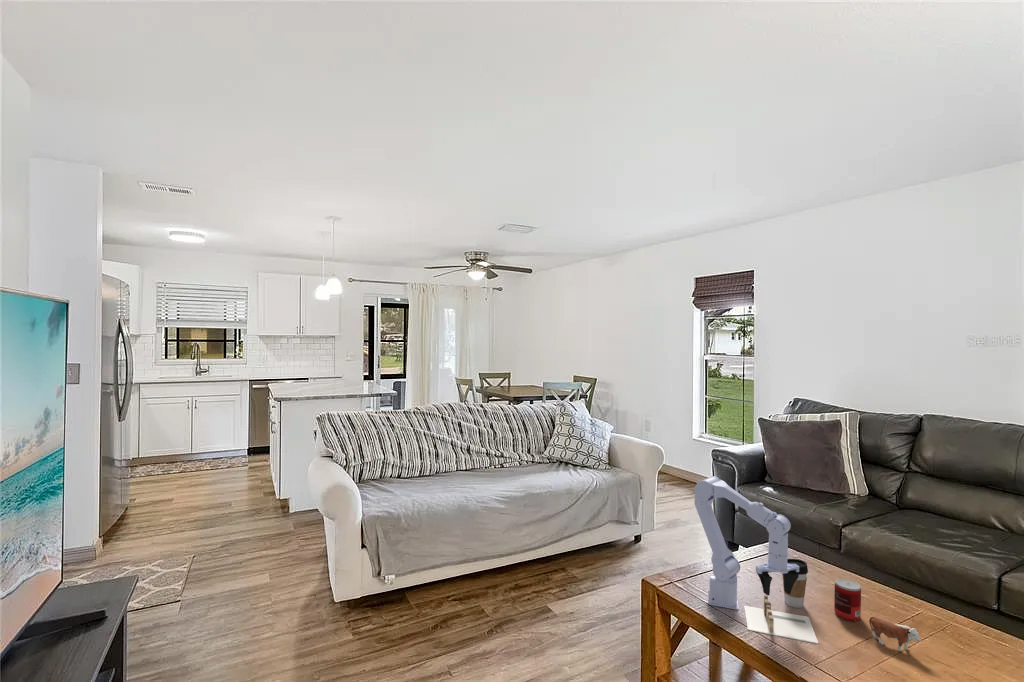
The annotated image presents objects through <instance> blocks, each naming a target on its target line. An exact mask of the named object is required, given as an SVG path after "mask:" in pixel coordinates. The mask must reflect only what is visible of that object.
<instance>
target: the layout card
mask: <svg viewBox="0 0 1024 682" xmlns="http://www.w3.org/2000/svg"><path fill="white" fill-rule="evenodd" d="M743 608H744V615H745V621H746V626H747V627H746V628H747V631H749V632H750V631H751V632H756V633H761V634H766V635H771V636H776V637H781V638H786V639H792V640H795V641H802V642H807V643H812V644H817V645H818V644H819V641H818V638H817V636H816V634H815V631H814V629H813V626H812V623H811V620H810V618H809V616H805V615H799V614H794V613H788V612H787V613H786V612H783V611H777V610H771V611H772V617H773V619H774V628H773V632H770V630H769V625H768V621H767V617H766V616H765V615H764V608H762V607H761V608H760V607H755V606H748V605H744V606H743Z"/></svg>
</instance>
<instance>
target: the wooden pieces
mask: <svg viewBox="0 0 1024 682" xmlns="http://www.w3.org/2000/svg"><path fill="white" fill-rule="evenodd" d="M767 605H770V610H771V609H772V608H771V607H772V604H771V602H770V601H769V595H766V594H763V609H764V615H765V616H766V606H767Z"/></svg>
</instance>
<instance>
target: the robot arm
mask: <svg viewBox="0 0 1024 682" xmlns="http://www.w3.org/2000/svg"><path fill="white" fill-rule="evenodd" d="M693 491H694V500H693V501H694V506H695V509H696V513H697V515H698V517H699V520H700V522H701V525H702V528H703V530H704V533H705V536H706V538H707V541H708V544H709V547H710V549H711V551H712V554H711V560H710V561H711V564H712V565H711V566H712V573H713V575H709V588H708V589H709V590H708V593H707V594H708V597H709V602H708V603H709V605H710V606H714V607H720V608H724V607H725V609H730V610H731V609H732V610H736V611H738V610H739V609H740V608H739V602H738V574H739V573H740V571H741V564H740V562H739V560H738V559H737V557H735V555H734V553H733V552H734V551H732V550H730V549H729V548H728V546H727V543H726V541H725V539H724V536H723V533H722V530H721V528H720V525H719V522H718V519H717V517H716V515H715V512H714V509H713V507H712V503H713V501H714V500H715V499H716V498H717V499H718V498H722V499H723V498H724V499H727V501H730V502H731V503H733V504H735V505H736V506H738V507H740V508H742V509H743V510H745V512H746V514H747V515H746V516H748V517H749V518H751V519H752V520H754V521H756V522H757V523H759V524H760V525H761V526H763V527H764V528H766V531H767V532H768V547H767V550H768V553H767V554H768V555H767V562H765V563H763V564H758V565H755V572H756V574H757V575H758V578H759V580H760V583H761V586H762V591H763V594H764V595H768V596H770V594H771V583H772V581H773V577H772V576H771V575H770V574H769V573H783V575H782V577H783V576H784V586H783V592H784V591H785V592H786V593H787V594H790V593H791V590H792V587H793V585H794V583H795V581H796V580H797V579H798V577H799V575H798V574H797V573H796V572H799V566H798V565H796V564H788V563H787V559H789V556H788V555H789V552H788V551H789V548H788V547H789V533H788V532H789V531H790V530H791V528H792V524H791V522H790V520H789V519H788V518H787V516H785V515H783V514H778V513H777V512H775V511H772V510H771V509H769V508H767V507H765V506H764V503H762V502H758V501H750V500H749V499H748V498H747V497H745V496H743V495H742V494H741V493H739V492H738V491H736V490H735V489H733V488H732V487H731V486H730V485H728V483H726V481H724V480H722V479H720V477H718V476H715V475H714V476H709V477H707V478H705V479H703V480H699V481H698V482H697V483H696V484H695V486H694V488H693Z"/></svg>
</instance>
